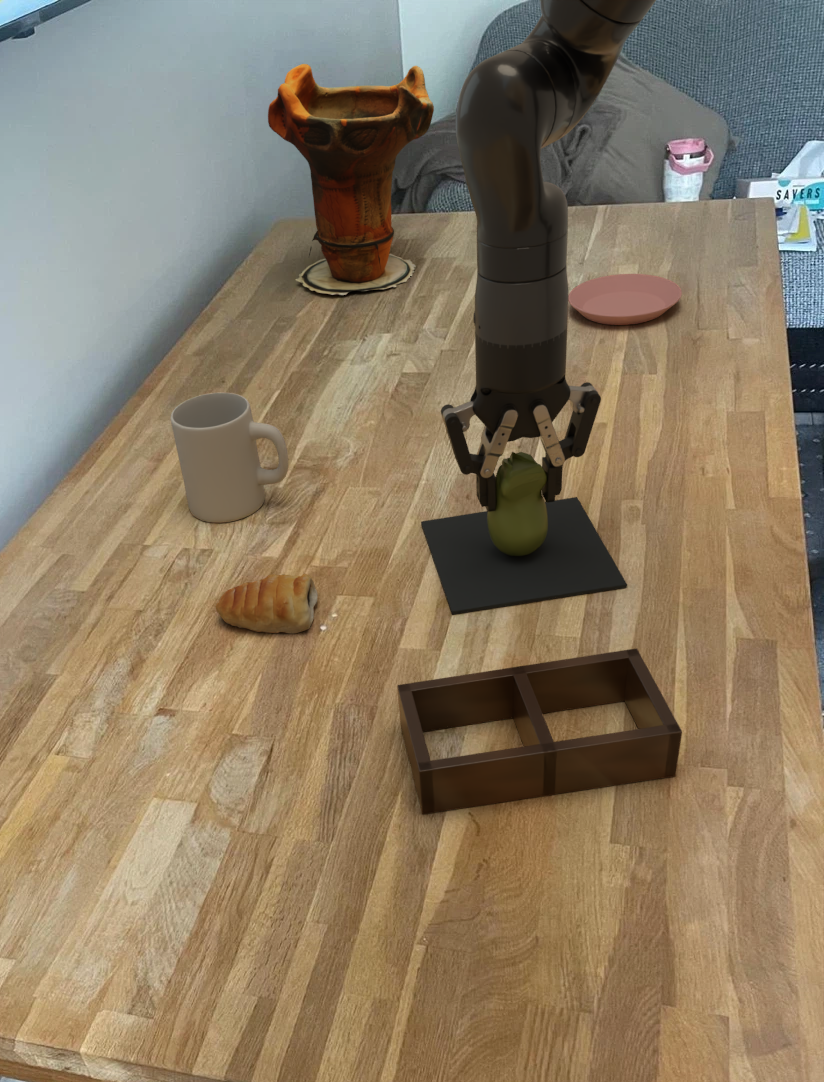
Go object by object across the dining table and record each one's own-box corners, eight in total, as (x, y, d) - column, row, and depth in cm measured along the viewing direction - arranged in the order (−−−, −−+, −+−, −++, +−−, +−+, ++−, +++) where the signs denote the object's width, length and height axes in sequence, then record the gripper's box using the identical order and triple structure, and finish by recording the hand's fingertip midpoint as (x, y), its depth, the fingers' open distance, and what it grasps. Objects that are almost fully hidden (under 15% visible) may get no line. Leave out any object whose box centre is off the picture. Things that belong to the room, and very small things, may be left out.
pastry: (214, 638, 101) (206, 605, 99) (225, 597, 106) (218, 564, 104) (314, 635, 100) (309, 600, 97) (320, 592, 105) (315, 559, 102)
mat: (576, 500, 111) (577, 496, 111) (626, 587, 99) (627, 584, 99) (421, 524, 112) (420, 521, 111) (451, 614, 99) (451, 611, 99)
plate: (544, 312, 147) (545, 298, 146) (621, 280, 152) (622, 265, 151) (625, 340, 137) (626, 325, 136) (704, 304, 142) (706, 289, 141)
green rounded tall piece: (530, 529, 107) (531, 437, 101) (558, 555, 103) (561, 460, 97) (479, 546, 106) (477, 453, 100) (505, 572, 102) (505, 478, 96)
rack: (632, 691, 89) (637, 647, 86) (676, 776, 81) (682, 731, 78) (400, 727, 89) (397, 684, 86) (422, 814, 81) (419, 771, 78)
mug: (178, 522, 118) (157, 429, 111) (203, 482, 124) (185, 391, 117) (284, 526, 115) (269, 430, 108) (304, 484, 121) (292, 391, 114)
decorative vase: (444, 290, 158) (437, 70, 139) (286, 309, 160) (259, 96, 142) (433, 242, 173) (426, 39, 155) (289, 260, 176) (265, 62, 157)
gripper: (443, 354, 88) (450, 535, 99) (621, 325, 87) (608, 511, 98) (426, 319, 93) (435, 495, 104) (593, 292, 93) (583, 471, 104)
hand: (519, 501), depth 101 cm, fingers closed on green rounded tall piece, 5 cm apart
